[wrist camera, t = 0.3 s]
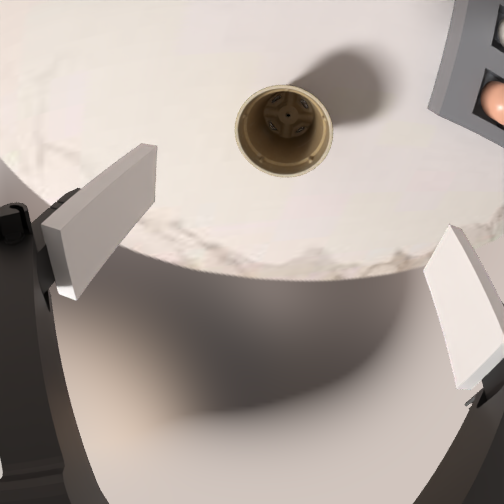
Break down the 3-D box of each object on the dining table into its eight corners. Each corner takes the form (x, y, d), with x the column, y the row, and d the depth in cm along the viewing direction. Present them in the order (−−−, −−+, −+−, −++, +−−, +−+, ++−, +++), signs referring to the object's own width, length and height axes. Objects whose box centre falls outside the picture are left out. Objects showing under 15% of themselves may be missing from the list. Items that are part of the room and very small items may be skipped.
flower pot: (343, 102, 34) (352, 118, 27) (304, 164, 40) (301, 193, 33) (272, 63, 33) (261, 67, 26) (237, 128, 38) (219, 150, 32)
